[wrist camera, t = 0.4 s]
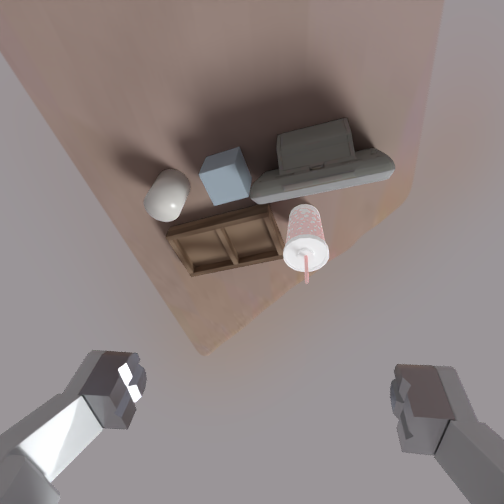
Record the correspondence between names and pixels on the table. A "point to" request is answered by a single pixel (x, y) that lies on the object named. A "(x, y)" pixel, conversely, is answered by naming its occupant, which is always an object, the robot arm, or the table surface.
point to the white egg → (167, 195)
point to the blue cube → (226, 176)
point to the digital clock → (319, 164)
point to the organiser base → (227, 240)
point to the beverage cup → (305, 241)
